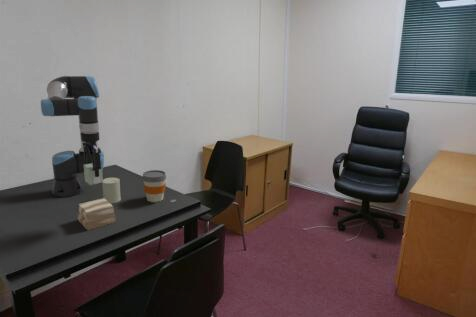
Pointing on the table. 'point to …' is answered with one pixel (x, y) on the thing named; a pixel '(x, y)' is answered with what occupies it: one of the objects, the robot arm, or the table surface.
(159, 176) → the reusable coffee cup
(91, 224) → the block
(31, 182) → the table surface
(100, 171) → the green block
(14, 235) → the table surface
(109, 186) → the can
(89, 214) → the tower top
